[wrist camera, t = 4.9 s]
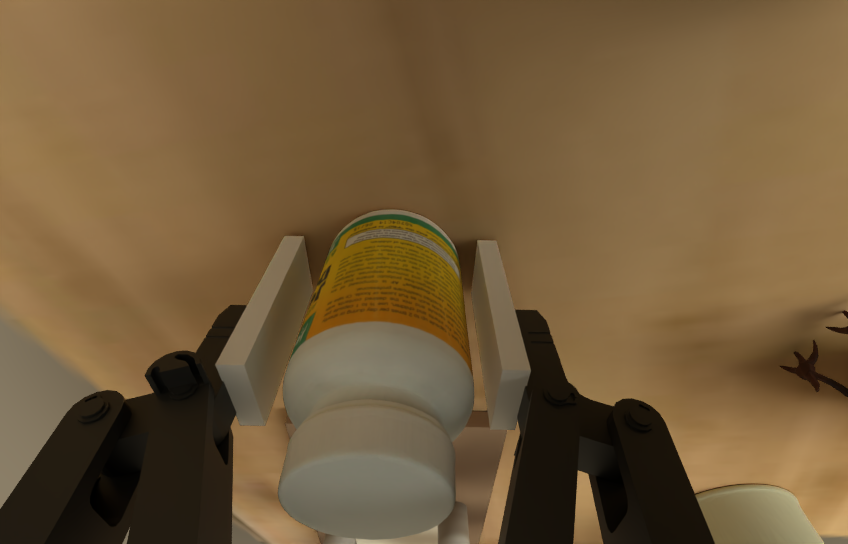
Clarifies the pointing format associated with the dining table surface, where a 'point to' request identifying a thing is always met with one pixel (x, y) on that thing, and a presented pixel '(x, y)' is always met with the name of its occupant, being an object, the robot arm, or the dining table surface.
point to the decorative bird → (808, 369)
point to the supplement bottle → (379, 383)
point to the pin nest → (474, 484)
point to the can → (756, 516)
